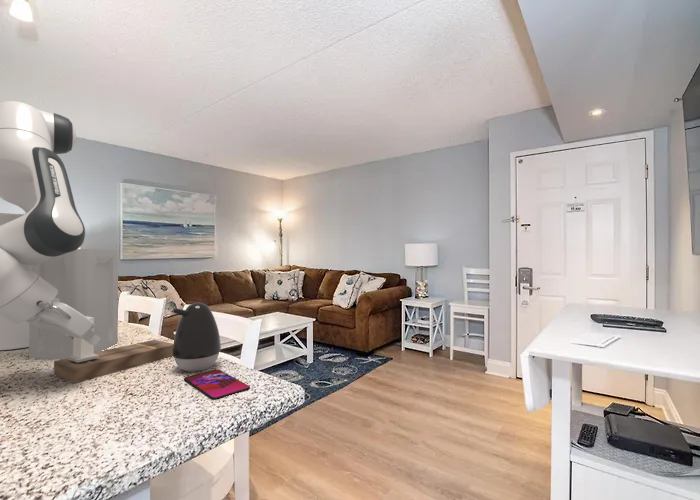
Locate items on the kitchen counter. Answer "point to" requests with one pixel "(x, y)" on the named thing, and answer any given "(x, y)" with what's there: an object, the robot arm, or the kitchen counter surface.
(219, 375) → the smartphone
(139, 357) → the board
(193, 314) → the pump dispenser
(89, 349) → the fader tab
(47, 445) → the kitchen counter surface
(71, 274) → the grey box
